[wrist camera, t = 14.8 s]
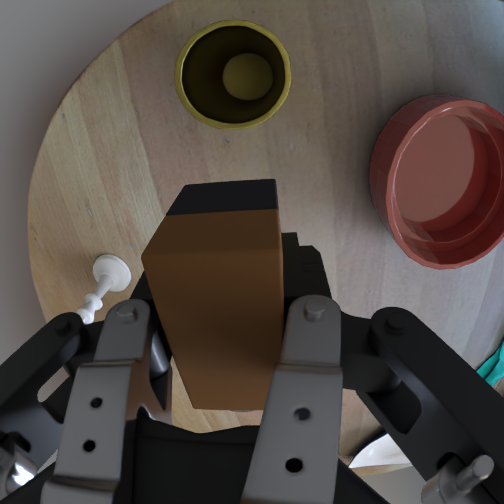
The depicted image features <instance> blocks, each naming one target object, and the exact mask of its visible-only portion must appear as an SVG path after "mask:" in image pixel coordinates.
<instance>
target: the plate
mask: <svg viewBox="0 0 504 504" xmlns="http://www.w3.org/2000/svg"><path fill="white" fill-rule="evenodd" d="M404 463H411V462H410V461H409V460H408V458H407V457H406V456H405V454H404V453H403V452H402V451H401V449H400V448H399V447H398V446H397V444H396V443H395V442H394V441H393V439H392V438H391V437H390V436H389V434H388V433H387V432H386V431H385V432H384V433H382V434H381V435H379V436H377V437H376V438H374V439H372V440H371V441H370V442H369V443H367V444H366V445H365V446H364V447H363V448H362V449H361V450H359V451H358V452H357V453H356V455H355V456H354V458H353V459H352V461H351V462H350V464H349V465H348V467H349V468H353V467H362V466H372V465H385V464H404Z"/></svg>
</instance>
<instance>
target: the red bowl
mask: <svg viewBox="0 0 504 504" xmlns="http://www.w3.org/2000/svg"><path fill="white" fill-rule="evenodd" d="M369 185H370V190H371V196H372V202H373V204H374V207H375V209H376V211H377V213H378V215H379V217H380V220H381V221H382V222H383V224H384V225H385V227H386V228H387V230H388V231H389V232H390V234H391V235H392V237H393V238H394V240H395V241H396V243H397V244H398V245H399V246H400V247H401V249H402V250H403V251H404V252H405V253H406V255H407V256H408V257H410V258H411V259H413V260H414V261H416V262H418V263H419V264H421V265H422V266H426V267H430V268H434V269H456V268H459V267H462V266H465V265H468V264H471V263H473V262H475V261H477V260H478V259H480V258H482V257H483V256H485V255H486V254H488V253H489V252H490V251H491V250H492V249H493V248H494V247H495V246H496V245H497V244H498V243H499V242H500V241H501V240H502V239H503V238H504V116H503V115H502V114H501V113H499V112H498V111H496V110H495V109H493V108H492V107H490V106H489V105H487V104H485V103H482V102H478V101H474V100H469V99H465V98H461V97H456V96H451V95H446V94H434V95H427V96H422V97H419V98H417V99H415V100H413V101H411V102H409V103H407V104H405V105H404V106H403V107H402V108H401V109H399V110H398V111H397V112H396V113H395V114H394V115H393V116H392V117H391V118H390V119H389V120H388V122H387V124H386V125H385V127H384V129H383V130H382V132H381V133H380V135H379V137H378V139H377V141H376V144H375V147H374V151H373V154H372V157H371V161H370V176H369Z"/></svg>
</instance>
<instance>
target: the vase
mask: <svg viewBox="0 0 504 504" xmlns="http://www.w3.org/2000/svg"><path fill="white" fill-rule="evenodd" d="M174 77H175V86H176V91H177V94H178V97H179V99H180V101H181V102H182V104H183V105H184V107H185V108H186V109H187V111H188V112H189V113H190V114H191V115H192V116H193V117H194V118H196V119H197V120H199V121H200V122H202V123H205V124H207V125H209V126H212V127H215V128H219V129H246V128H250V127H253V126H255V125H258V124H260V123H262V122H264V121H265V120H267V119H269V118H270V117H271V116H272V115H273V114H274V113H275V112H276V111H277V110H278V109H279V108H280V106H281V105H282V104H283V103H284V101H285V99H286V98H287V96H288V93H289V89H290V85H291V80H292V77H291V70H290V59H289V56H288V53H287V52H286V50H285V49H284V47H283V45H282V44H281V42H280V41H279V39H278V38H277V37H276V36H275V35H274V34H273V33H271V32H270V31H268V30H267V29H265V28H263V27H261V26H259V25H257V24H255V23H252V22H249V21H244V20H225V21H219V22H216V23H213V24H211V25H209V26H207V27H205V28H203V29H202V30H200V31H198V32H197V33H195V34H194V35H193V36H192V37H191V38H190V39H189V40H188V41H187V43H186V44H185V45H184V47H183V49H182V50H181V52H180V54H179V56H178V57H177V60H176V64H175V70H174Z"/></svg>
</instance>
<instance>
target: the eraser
mask: <svg viewBox="0 0 504 504" xmlns="http://www.w3.org/2000/svg"><path fill="white" fill-rule="evenodd" d="M141 260H142V264H143V267H144V270H145V274H146V277H147V281H148V284H149V287H150V290H151V294H152V297H153V300H154V303H155V306H156V309H157V312H158V315H159V318H160V321H161V324H162V327H163V330H164V333H165V336H166V339H167V341H168V344H169V347H170V350H171V352H172V355H173V358H174V361H175V363H176V366H177V369H178V371H179V374H180V376H181V379H182V381H183V384H184V386H185V389H186V391H187V394H188V396H189V399H190V401H191V404H192V406H193V408H194V409H206V410H264V407H265V403H266V398H267V394H268V389H269V385H270V380H271V376H272V371H273V368H274V365H275V363H276V362H279V357H280V352H281V347H282V342H283V337H284V293H283V252H282V240H281V229H280V219H279V208H278V198H277V188H276V180H275V179H260V180H243V181H228V182H214V183H202V184H190V185H185V186H184V187H183V189H182V190H181V192H180V193H179V195H178V196H177V198H176V199H175V201H174V203H173V204H172V206H171V207H170V209H169V210H168V212H167V213H166V217H164V219H163V221H162V222H161V224H160V225H159V227H158V229H157V230H156V232H155V233H154V235H153V237H152V238H151V240H150V242H149V243H148V245H147V247H146V248H145V250H144V252H143V253H142V255H141Z"/></svg>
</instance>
